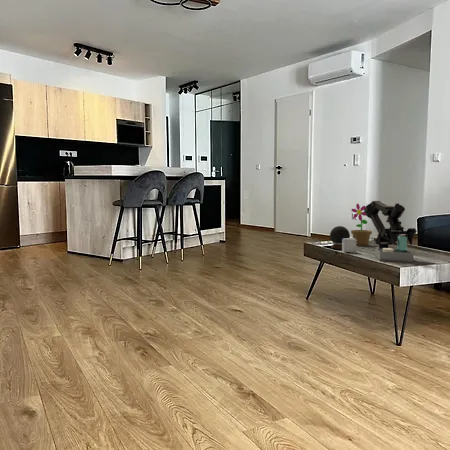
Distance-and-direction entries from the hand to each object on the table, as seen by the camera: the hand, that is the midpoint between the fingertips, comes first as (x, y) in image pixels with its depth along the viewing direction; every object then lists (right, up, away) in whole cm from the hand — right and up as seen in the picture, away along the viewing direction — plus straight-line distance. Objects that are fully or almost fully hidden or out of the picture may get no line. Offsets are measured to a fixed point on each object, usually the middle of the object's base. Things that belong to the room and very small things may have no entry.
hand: (403, 244), depth 234 cm
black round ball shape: (-22, -5, +52) cm, 56 cm away
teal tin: (0, -8, +2) cm, 8 cm away
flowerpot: (-1, -4, +69) cm, 69 cm away
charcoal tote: (-3, -9, +5) cm, 11 cm away
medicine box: (-21, -7, +32) cm, 39 cm away
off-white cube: (-7, -8, +6) cm, 12 cm away
